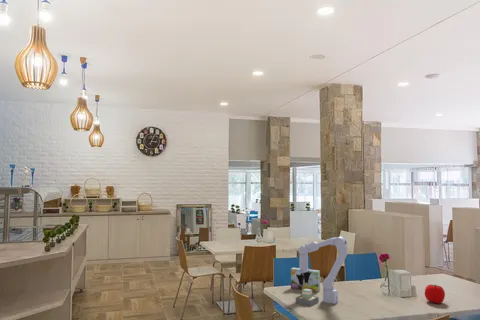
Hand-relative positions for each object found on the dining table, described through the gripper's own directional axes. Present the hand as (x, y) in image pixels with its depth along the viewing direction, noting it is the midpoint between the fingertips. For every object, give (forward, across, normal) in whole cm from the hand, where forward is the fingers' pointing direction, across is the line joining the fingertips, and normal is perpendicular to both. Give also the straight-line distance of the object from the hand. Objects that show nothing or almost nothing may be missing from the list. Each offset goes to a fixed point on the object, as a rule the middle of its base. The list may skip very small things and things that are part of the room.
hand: (303, 283), depth 271 cm
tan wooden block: (+10, +7, +6) cm, 13 cm away
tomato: (+11, -48, +72) cm, 87 cm away
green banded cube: (+7, +7, +6) cm, 11 cm away
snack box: (+11, -24, -11) cm, 28 cm away
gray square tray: (+10, +7, +6) cm, 14 cm away
